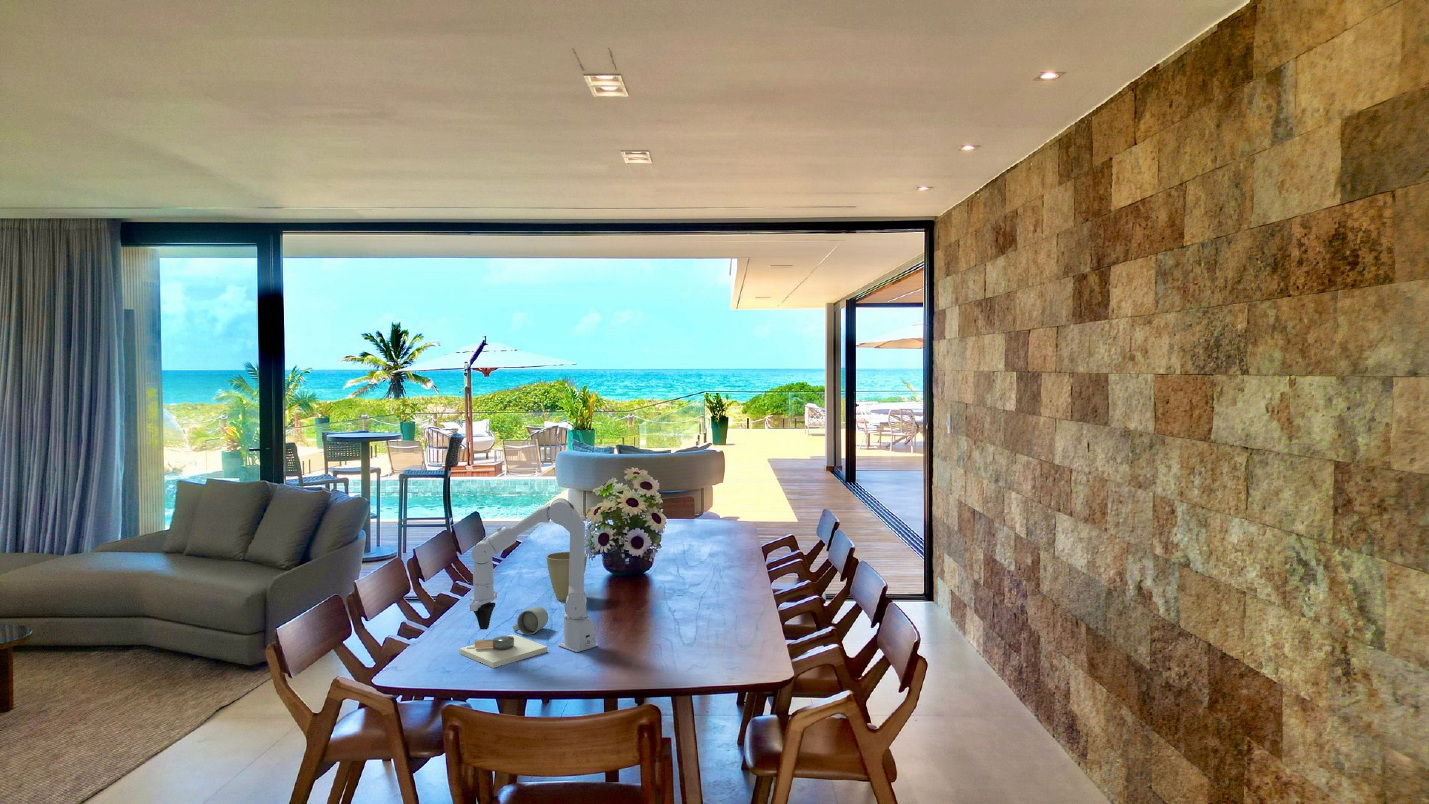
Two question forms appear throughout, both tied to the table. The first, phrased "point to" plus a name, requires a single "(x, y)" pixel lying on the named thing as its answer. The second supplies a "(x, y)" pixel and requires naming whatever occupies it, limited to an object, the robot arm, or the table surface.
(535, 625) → the ceramic mug
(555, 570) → the plant pot
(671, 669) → the table surface
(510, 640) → the twist handle
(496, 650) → the base
